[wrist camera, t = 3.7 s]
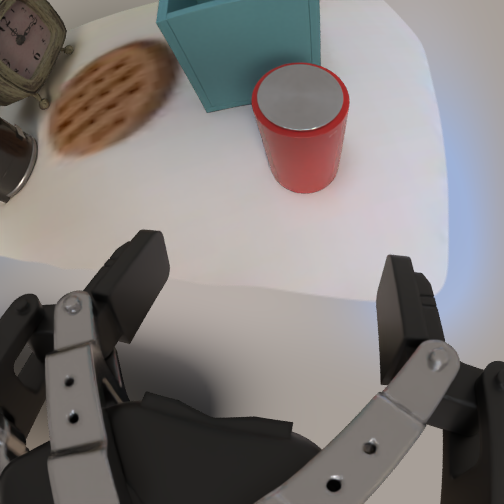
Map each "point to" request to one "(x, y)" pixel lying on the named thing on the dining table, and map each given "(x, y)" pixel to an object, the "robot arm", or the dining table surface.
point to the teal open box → (238, 43)
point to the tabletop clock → (28, 48)
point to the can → (301, 124)
